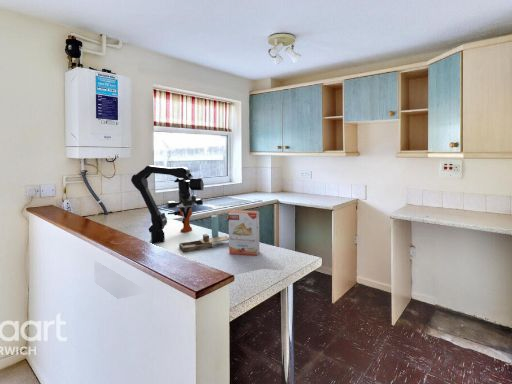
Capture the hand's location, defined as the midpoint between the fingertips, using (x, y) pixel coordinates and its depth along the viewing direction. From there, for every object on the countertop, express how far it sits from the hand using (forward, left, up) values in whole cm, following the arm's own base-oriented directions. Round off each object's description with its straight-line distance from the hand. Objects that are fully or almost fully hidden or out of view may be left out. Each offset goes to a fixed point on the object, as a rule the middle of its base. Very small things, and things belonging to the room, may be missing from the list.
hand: (185, 218), depth 176 cm
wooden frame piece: (+1, -13, -13) cm, 18 cm away
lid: (+12, -13, -10) cm, 21 cm away
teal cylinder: (+16, -2, -13) cm, 21 cm away
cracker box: (+20, -33, -13) cm, 41 cm away
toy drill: (+2, +21, -13) cm, 25 cm away
